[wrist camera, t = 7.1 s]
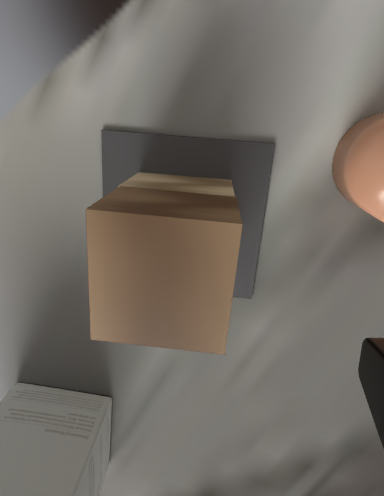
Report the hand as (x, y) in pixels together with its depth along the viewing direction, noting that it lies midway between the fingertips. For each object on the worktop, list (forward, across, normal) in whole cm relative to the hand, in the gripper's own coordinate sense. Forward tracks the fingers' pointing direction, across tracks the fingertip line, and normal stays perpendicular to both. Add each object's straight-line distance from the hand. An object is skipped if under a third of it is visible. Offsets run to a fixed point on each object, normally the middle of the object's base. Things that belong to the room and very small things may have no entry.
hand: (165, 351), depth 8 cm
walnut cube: (+8, +1, 0) cm, 8 cm away
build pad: (+12, +1, 0) cm, 12 cm away
